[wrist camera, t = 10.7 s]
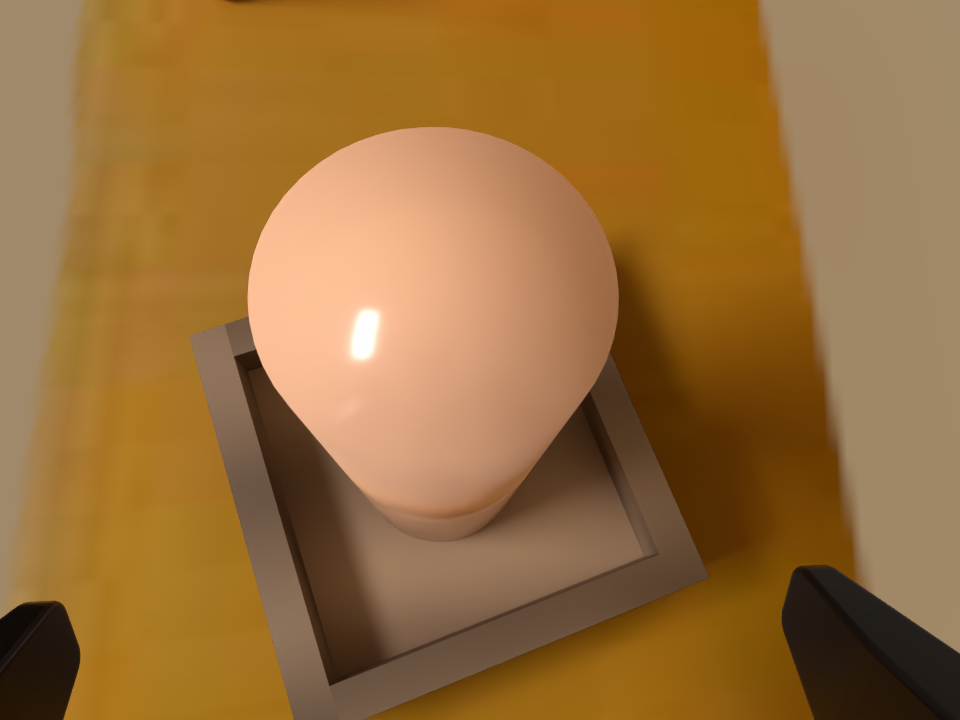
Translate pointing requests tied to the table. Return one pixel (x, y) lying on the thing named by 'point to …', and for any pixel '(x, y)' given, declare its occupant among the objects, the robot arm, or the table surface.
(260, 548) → the square wooden tray
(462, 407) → the peach tall rounded piece
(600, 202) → the table surface
